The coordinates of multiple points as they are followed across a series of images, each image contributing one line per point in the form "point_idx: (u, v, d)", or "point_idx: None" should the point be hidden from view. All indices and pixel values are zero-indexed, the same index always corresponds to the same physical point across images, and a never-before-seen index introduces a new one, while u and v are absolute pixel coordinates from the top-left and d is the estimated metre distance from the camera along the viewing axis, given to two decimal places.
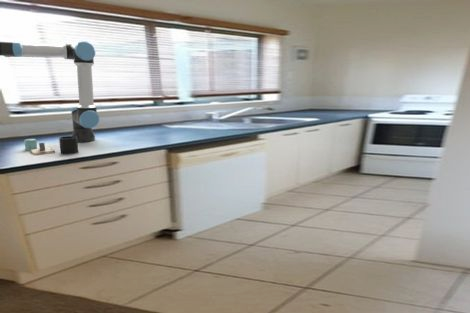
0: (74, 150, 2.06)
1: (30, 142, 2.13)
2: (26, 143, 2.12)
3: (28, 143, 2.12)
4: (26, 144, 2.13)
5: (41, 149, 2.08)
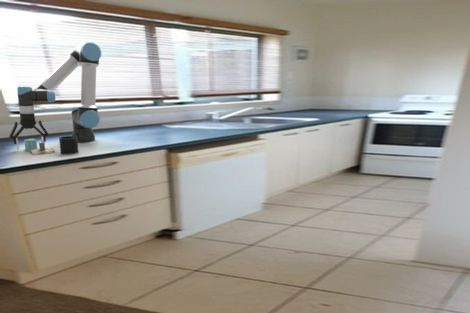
0: (74, 150, 2.06)
1: (30, 142, 2.13)
2: (26, 143, 2.12)
3: (28, 143, 2.12)
4: (26, 144, 2.13)
5: (41, 149, 2.08)
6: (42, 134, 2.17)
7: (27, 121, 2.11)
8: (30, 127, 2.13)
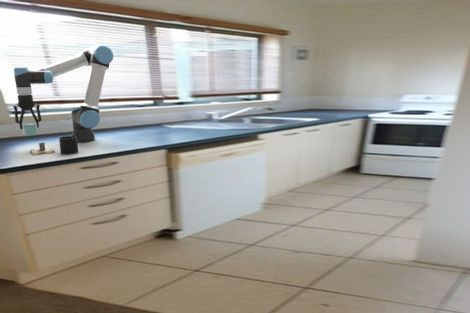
0: (74, 150, 2.06)
1: (29, 126, 2.11)
2: (25, 128, 2.11)
3: (27, 128, 2.10)
4: (25, 129, 2.11)
5: (41, 149, 2.08)
6: (35, 119, 2.14)
7: (25, 103, 2.09)
8: (28, 109, 2.11)
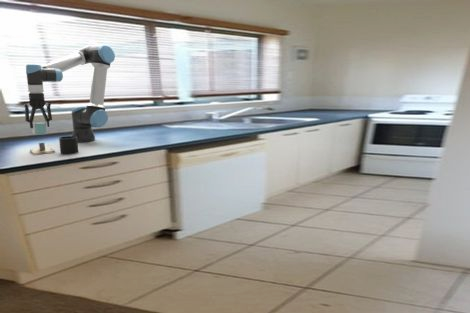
0: (74, 150, 2.06)
1: (40, 125, 2.03)
2: (36, 127, 2.03)
3: (38, 127, 2.03)
4: (36, 128, 2.03)
5: (41, 149, 2.08)
6: (46, 118, 2.07)
7: (36, 101, 2.02)
8: (40, 107, 2.04)
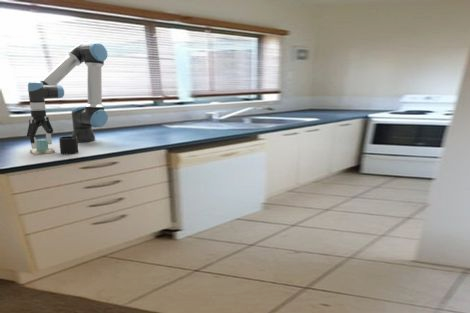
0: (74, 150, 2.06)
1: (45, 142, 2.07)
2: (41, 143, 2.06)
3: (44, 143, 2.06)
4: (41, 144, 2.06)
5: None
6: (49, 131, 2.13)
7: (40, 118, 2.04)
8: (42, 124, 2.07)
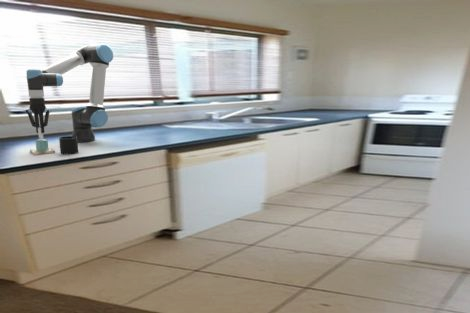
0: (74, 150, 2.06)
1: (45, 142, 2.07)
2: (41, 143, 2.06)
3: (44, 143, 2.06)
4: (41, 144, 2.06)
5: None
6: (40, 124, 2.05)
7: (36, 106, 2.02)
8: None
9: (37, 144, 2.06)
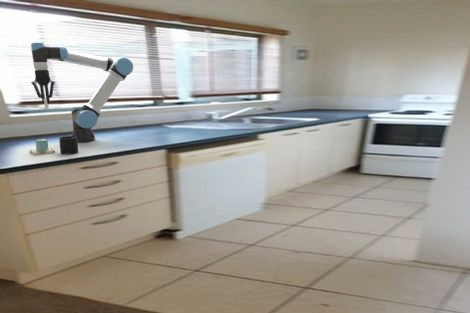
0: (74, 150, 2.06)
1: (45, 142, 2.07)
2: (41, 143, 2.06)
3: (44, 143, 2.06)
4: (41, 144, 2.06)
5: None
6: (46, 95, 2.17)
7: (41, 78, 2.14)
8: None
9: (37, 144, 2.06)
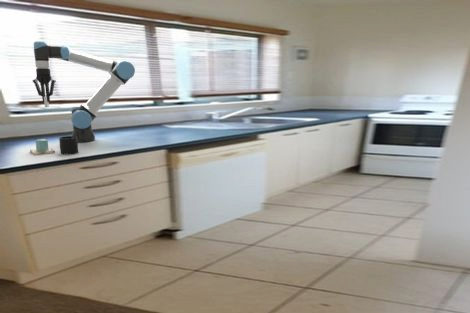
0: (74, 150, 2.06)
1: (45, 142, 2.07)
2: (41, 143, 2.06)
3: (44, 143, 2.06)
4: (41, 144, 2.06)
5: None
6: (46, 93, 2.20)
7: (42, 76, 2.17)
8: None
9: (37, 144, 2.06)
